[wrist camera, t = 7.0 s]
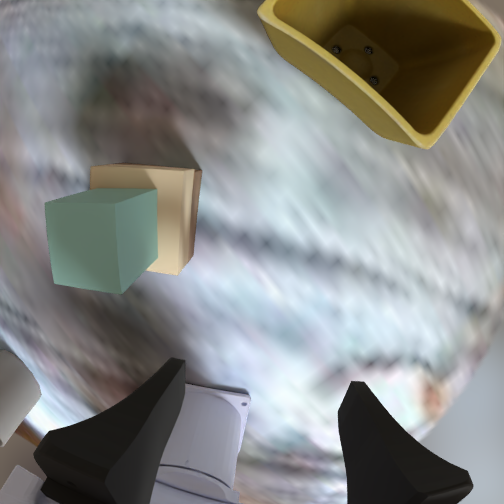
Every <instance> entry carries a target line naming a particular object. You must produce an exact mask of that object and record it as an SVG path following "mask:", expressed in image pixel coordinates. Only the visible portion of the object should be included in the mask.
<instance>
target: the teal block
mask: <svg viewBox="0 0 504 504" xmlns="http://www.w3.org/2000/svg"><path fill="white" fill-rule="evenodd" d="M45 216H46V227H47V237H48V246H49V254H50V261H51V267H52V274H53V280H54V284H59V285H65V286H70V287H76V288H82V289H88V290H95V291H101V292H108V293H114V294H121V295H122V294H123V293H124V292H125V291H126V290H127V289H128V287H129V286H130V285H131V284H132V283H133V282H134V281H135V280H136V279H137V278H138V277H139V276H140V275H141V274H142V273H143V272H144V271H145V270H146V269H147V268H148V267H149V266H150V265H151V264H152V263H153V262H154V261H155V260H156V259H158V236H157V189H138V188H96V189H92V190H88V191H84V192H81V193H77V194H73V195H70V196H66V197H63V198H59V199H56V200H52V201H49V202H46V203H45Z"/></svg>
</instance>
